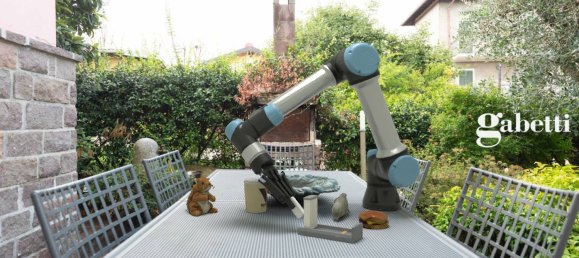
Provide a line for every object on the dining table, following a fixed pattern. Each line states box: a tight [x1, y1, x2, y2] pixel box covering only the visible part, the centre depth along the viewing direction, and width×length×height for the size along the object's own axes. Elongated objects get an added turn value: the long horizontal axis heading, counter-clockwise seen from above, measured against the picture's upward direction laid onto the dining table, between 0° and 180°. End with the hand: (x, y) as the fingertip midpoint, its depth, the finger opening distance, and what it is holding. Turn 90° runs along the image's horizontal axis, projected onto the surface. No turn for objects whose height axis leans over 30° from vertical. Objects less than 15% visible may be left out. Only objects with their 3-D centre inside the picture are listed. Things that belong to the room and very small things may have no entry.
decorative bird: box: [331, 192, 351, 222], centre depth 152 cm, size 5×16×8 cm, turn 163°
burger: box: [358, 210, 389, 230], centre depth 139 cm, size 10×9×5 cm
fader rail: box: [297, 222, 364, 244], centre depth 126 cm, size 18×7×4 cm, turn 59°
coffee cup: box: [243, 177, 269, 214], centre depth 160 cm, size 9×9×12 cm
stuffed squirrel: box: [185, 177, 219, 217], centre depth 158 cm, size 10×14×13 cm
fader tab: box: [303, 194, 319, 229], centre depth 130 cm, size 2×5×10 cm, turn 149°
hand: (302, 215), depth 131 cm, fingers closed
